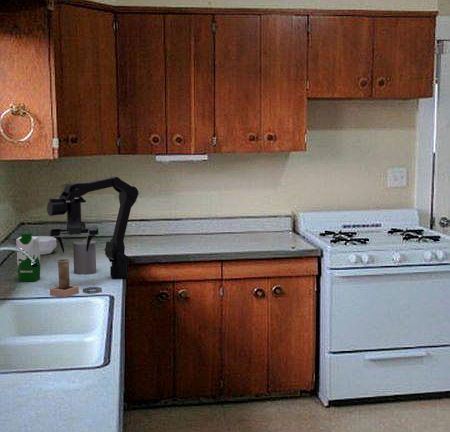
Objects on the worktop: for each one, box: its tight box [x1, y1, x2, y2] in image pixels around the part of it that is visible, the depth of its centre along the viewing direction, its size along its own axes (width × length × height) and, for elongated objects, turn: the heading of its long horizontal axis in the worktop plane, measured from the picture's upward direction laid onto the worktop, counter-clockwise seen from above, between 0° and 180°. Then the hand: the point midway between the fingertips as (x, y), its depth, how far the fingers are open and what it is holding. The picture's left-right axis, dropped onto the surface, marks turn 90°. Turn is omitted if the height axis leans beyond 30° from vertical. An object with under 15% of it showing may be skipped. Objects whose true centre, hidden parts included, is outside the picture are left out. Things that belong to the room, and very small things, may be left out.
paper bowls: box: [39, 235, 57, 256], centre depth 335 cm, size 15×15×8 cm
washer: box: [82, 286, 103, 294], centre depth 253 cm, size 7×7×1 cm
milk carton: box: [15, 232, 41, 283], centre depth 272 cm, size 9×9×20 cm
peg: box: [56, 258, 71, 290], centre depth 248 cm, size 4×4×13 cm
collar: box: [49, 284, 80, 298], centre depth 248 cm, size 8×8×2 cm
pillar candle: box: [72, 239, 97, 275], centre depth 287 cm, size 10×10×15 cm
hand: (75, 252), depth 264 cm, fingers open, 9 cm apart
